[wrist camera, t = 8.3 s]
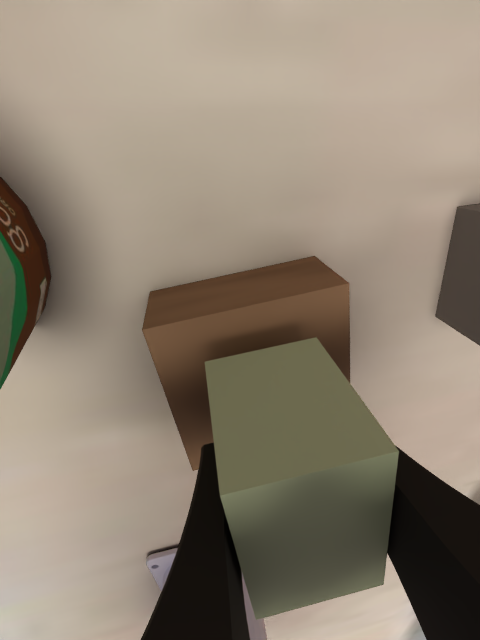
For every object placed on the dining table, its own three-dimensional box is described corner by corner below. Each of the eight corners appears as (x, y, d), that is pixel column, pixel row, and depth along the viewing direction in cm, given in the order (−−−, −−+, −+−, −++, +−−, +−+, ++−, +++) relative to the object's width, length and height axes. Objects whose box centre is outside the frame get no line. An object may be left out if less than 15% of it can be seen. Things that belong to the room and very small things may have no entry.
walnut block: (320, 381, 20) (350, 430, 16) (190, 412, 19) (192, 470, 16) (312, 254, 16) (349, 283, 13) (150, 289, 16) (142, 329, 12)
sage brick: (321, 452, 14) (383, 584, 10) (232, 474, 14) (255, 619, 10) (316, 337, 12) (398, 451, 7) (204, 361, 11) (219, 495, 7)
